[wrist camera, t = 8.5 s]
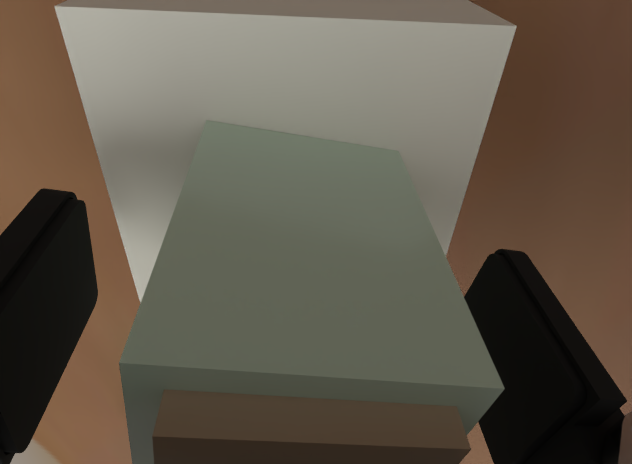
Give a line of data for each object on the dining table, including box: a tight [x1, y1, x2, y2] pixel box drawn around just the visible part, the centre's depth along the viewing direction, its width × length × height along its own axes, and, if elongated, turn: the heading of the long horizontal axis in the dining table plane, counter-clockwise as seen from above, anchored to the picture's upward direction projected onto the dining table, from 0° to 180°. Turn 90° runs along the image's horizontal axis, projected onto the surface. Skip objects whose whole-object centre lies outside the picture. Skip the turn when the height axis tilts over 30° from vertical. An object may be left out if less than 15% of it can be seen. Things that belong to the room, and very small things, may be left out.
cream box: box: [55, 0, 517, 303], centre depth 15 cm, size 10×10×6 cm
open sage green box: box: [119, 120, 505, 464], centre depth 9 cm, size 5×5×8 cm
